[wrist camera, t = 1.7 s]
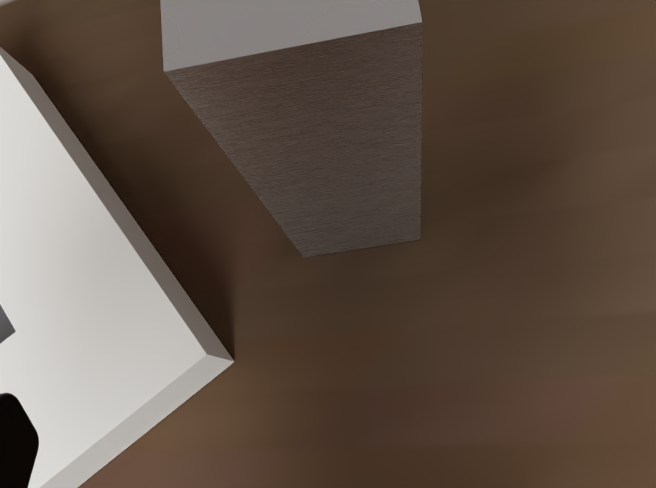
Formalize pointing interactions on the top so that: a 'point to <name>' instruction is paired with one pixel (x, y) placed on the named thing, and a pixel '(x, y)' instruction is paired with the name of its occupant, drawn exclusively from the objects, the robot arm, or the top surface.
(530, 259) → the top surface
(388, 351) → the top surface
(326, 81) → the grey square peg
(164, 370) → the socket plate
